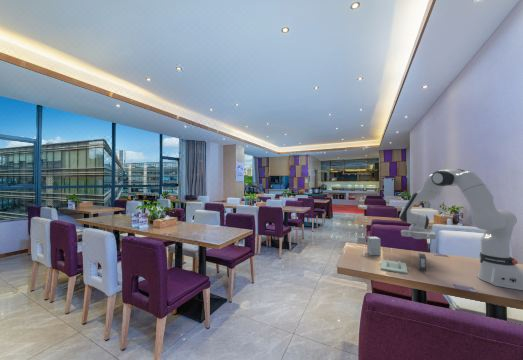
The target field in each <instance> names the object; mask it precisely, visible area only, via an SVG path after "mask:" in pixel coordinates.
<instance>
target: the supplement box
mask: <svg viewBox="0 0 523 360" xmlns="http://www.w3.org/2000/svg"><path fill="white" fill-rule="evenodd" d="M366 242H367V243H366V246H367V247H366V248H367V250H366V251H367V254H369V255H370V256H381V255H382V251H381V248H382V247H381V238H380V237H378V236H366Z"/></svg>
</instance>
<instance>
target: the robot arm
mask: <svg viewBox="0 0 523 360" xmlns="http://www.w3.org/2000/svg"><path fill="white" fill-rule="evenodd" d="M454 186H457V187H458V188H459V190H460V191H461V192H462V194H463V196H464V197H465V199H466V201H467V203H468V204H469V207H470V210H471V214H472V216H471V223H472V224H473V226H474V227H475V228H477V229H480V230H483V231H484V233H483V234H482V236H481V238H480V252H479V263H480V267H479V272H478V275H477V277H478V279H479V280H481V281H484V282H487V283H489V284H491V285H493V286H496V287H501V288H507V289H513V290H519V291H523V269H522V268H520V266H517V265H518V261H517V260H516V259H515V258H514V257H511V252H510V251H511V249H510V248H511V247H510V244H511V237H512V234H513V230H514V227H515V225H516V224H517V222H518V219H517V216H516V215H515V214H514V213H513V212H511V211H508V210H505V209H501V208H500V209H499V208H498V209H497V208H496V204H495V202H494V195H493V193H492V192H491V190H489V188H488V187H487V185H486V184H485V182H484V181H483V180H482V179H481V178H480V177H479V175H478V174H476V173H475V172H474V171H469V170H463V169H459V168H456V169H455V168H454V169H453V168H446V169H445V168H444V169H439V170H436V171H434V172H433V173H430V174H429V175H428V176H427V177H426V179H425V181H424V182H423V184H422V187H421V188H420V190H419V191H415V192H414V193H413V194H412V196H410V198H409V200H408V201H407V202H406V205H405V207H403V209H402V210H401V211H400V213H399V217H398V218H399V219H400V221H401V222H402V223H406V224H410V226H409V227H408V229H401V230H399V231H400V234H401V237H409V238H413V239H414V240H415V239H416V240H423V239H424V240H437V233H436V232H435V231H433V230H432V229H429V228H428V227H429V224H430V219H429V217H428V215H426V214H424V213H421V212H416V211H414V210H412V209H413V207H414V205H415V204H416V203H420V202H431V201H436V200H437V199H438V198H439V197H440V196H441V193H442V190H443V188H444V187H454Z"/></svg>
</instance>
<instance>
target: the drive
mask: <svg viewBox="0 0 523 360" xmlns="http://www.w3.org/2000/svg"><path fill="white" fill-rule="evenodd" d="M417 255H418V256H417V257H418V270H419V271H420V272H427V255H426V254H425V253H419V252H418V254H417Z"/></svg>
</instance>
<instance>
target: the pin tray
mask: <svg viewBox="0 0 523 360" xmlns="http://www.w3.org/2000/svg"><path fill="white" fill-rule="evenodd" d="M380 270H381V271H386V272H391V273H399V274H404V275H408V274H409V273H408V272H409V271H408V268H407V264H406V262H401V261H399V260H398V261H393V260H389V259H386V260H385V259H381V264H380Z"/></svg>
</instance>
